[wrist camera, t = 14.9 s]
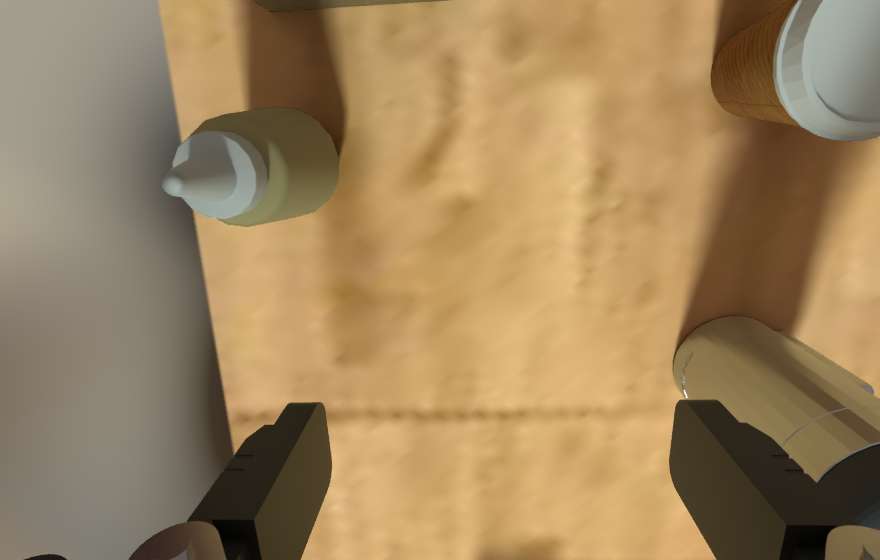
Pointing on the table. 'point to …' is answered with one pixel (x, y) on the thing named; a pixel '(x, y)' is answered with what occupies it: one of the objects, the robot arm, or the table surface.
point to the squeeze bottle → (255, 167)
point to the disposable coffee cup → (807, 68)
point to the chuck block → (324, 3)
